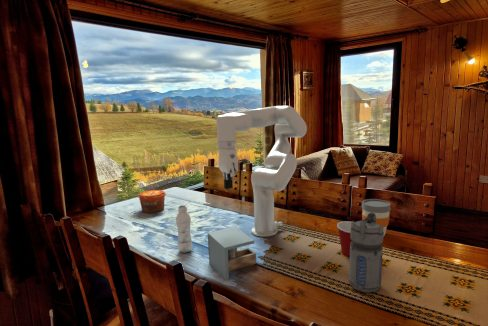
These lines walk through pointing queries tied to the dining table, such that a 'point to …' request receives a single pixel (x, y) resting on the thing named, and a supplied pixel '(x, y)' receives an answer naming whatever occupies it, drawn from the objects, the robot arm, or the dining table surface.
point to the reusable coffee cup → (377, 211)
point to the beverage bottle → (366, 254)
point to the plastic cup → (345, 236)
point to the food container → (152, 201)
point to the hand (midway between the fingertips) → (228, 188)
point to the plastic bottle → (183, 230)
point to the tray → (240, 258)
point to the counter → (225, 247)
